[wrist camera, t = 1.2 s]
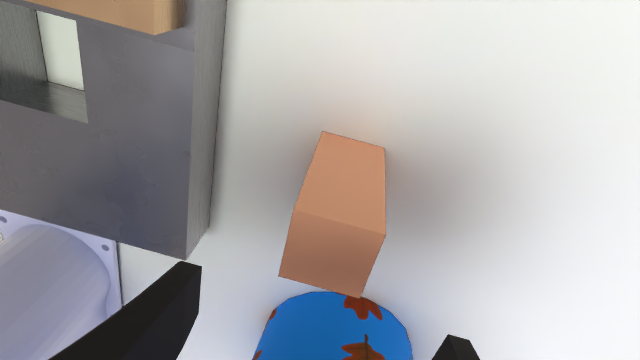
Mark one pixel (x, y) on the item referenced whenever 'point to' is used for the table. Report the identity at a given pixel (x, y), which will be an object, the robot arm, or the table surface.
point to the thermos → (332, 330)
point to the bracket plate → (114, 120)
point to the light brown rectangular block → (338, 217)
